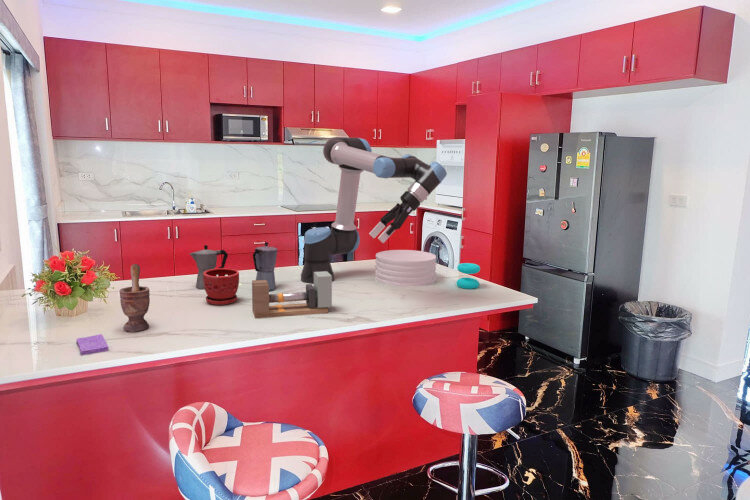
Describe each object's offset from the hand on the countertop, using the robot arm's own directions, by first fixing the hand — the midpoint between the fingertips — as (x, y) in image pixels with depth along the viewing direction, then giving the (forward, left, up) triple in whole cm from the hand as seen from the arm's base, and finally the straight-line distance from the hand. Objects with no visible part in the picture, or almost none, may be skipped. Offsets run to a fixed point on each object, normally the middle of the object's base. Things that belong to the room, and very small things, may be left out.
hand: (375, 238), depth 194 cm
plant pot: (-19, -55, -26) cm, 64 cm away
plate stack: (-38, +28, -26) cm, 54 cm away
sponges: (+19, -93, -27) cm, 99 cm away
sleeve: (0, -20, -24) cm, 31 cm away
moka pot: (-34, -37, -26) cm, 57 cm away
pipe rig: (0, -32, -26) cm, 41 cm away
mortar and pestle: (+4, -83, -26) cm, 87 cm away
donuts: (-18, +50, -26) cm, 59 cm away
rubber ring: (0, -25, -24) cm, 34 cm away
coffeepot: (-44, -59, -26) cm, 78 cm away
